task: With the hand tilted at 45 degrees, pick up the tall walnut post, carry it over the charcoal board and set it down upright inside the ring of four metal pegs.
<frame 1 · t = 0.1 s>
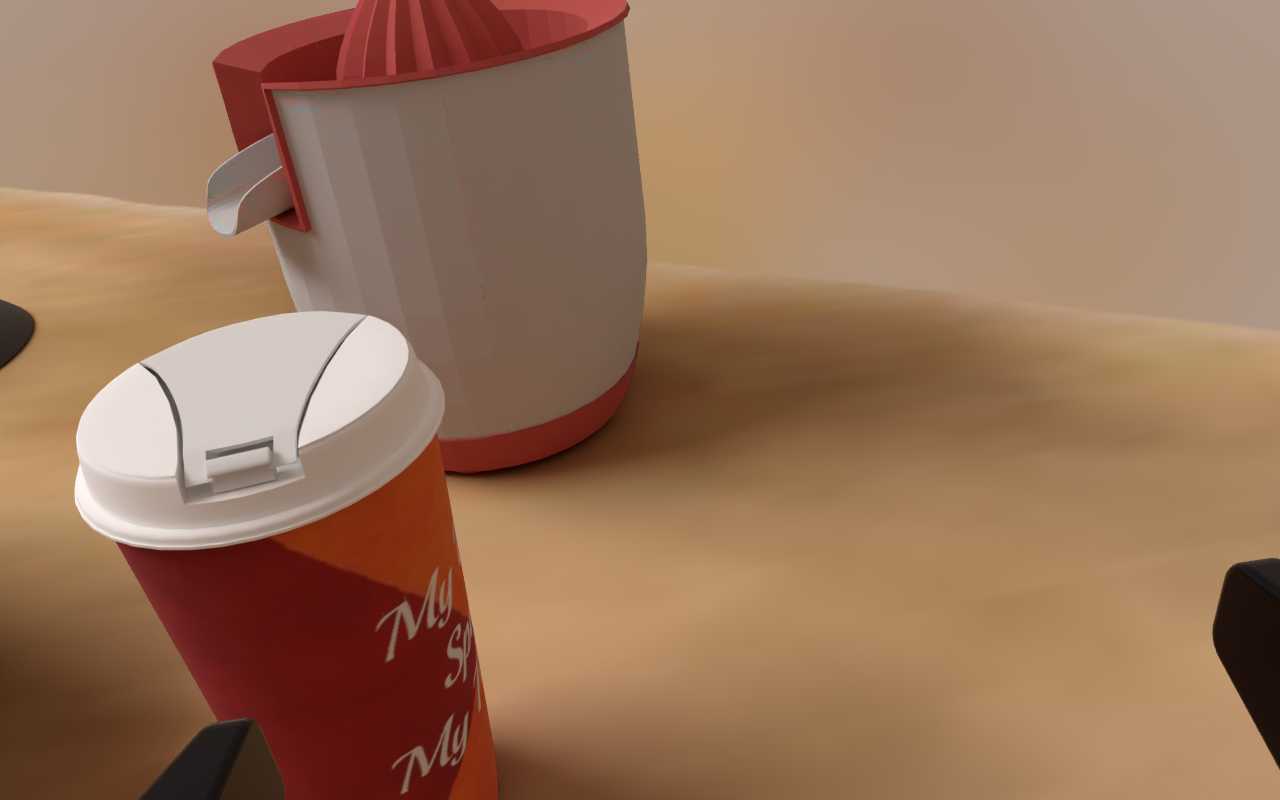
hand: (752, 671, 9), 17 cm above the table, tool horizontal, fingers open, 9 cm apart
citrus juicer: (486, 417, 46), on the table
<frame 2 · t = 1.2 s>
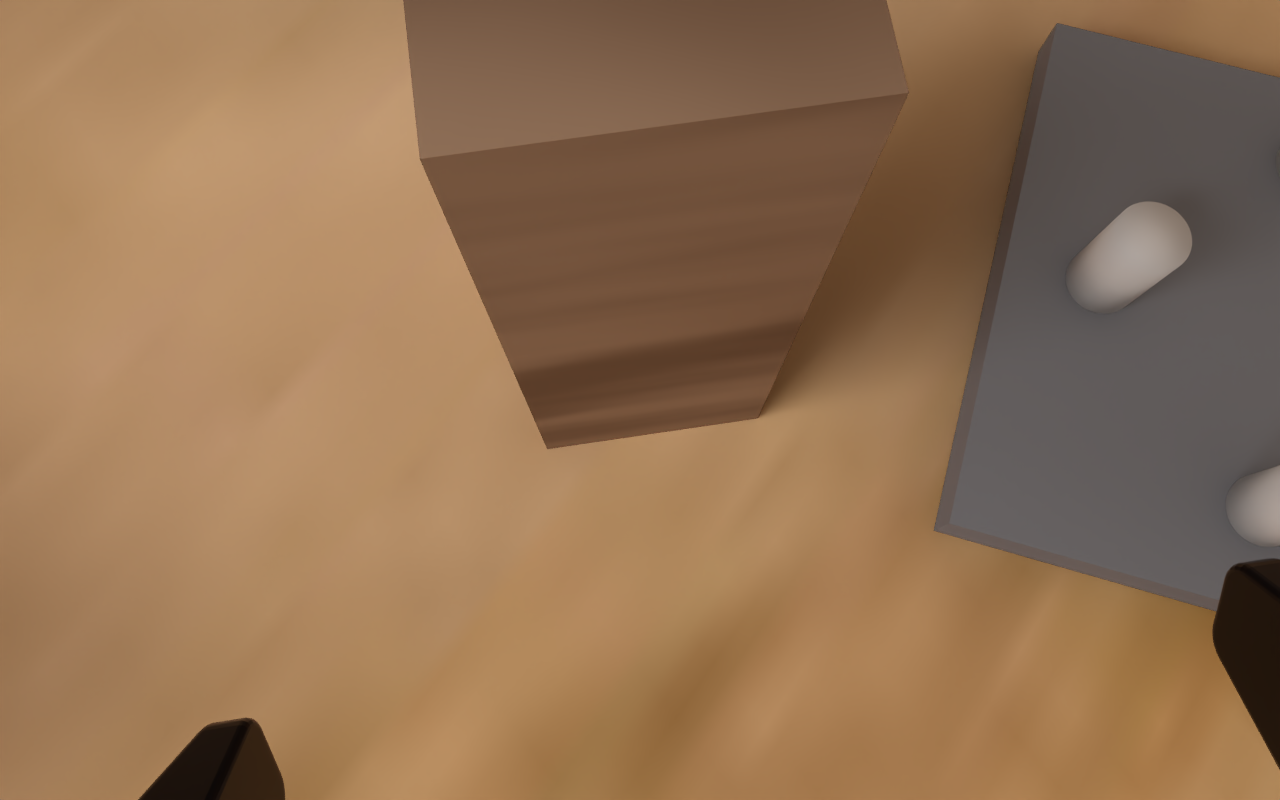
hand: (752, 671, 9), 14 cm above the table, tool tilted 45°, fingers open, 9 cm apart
walnut post: (637, 333, 24), on the table
peg nest: (1256, 346, 24), on the table
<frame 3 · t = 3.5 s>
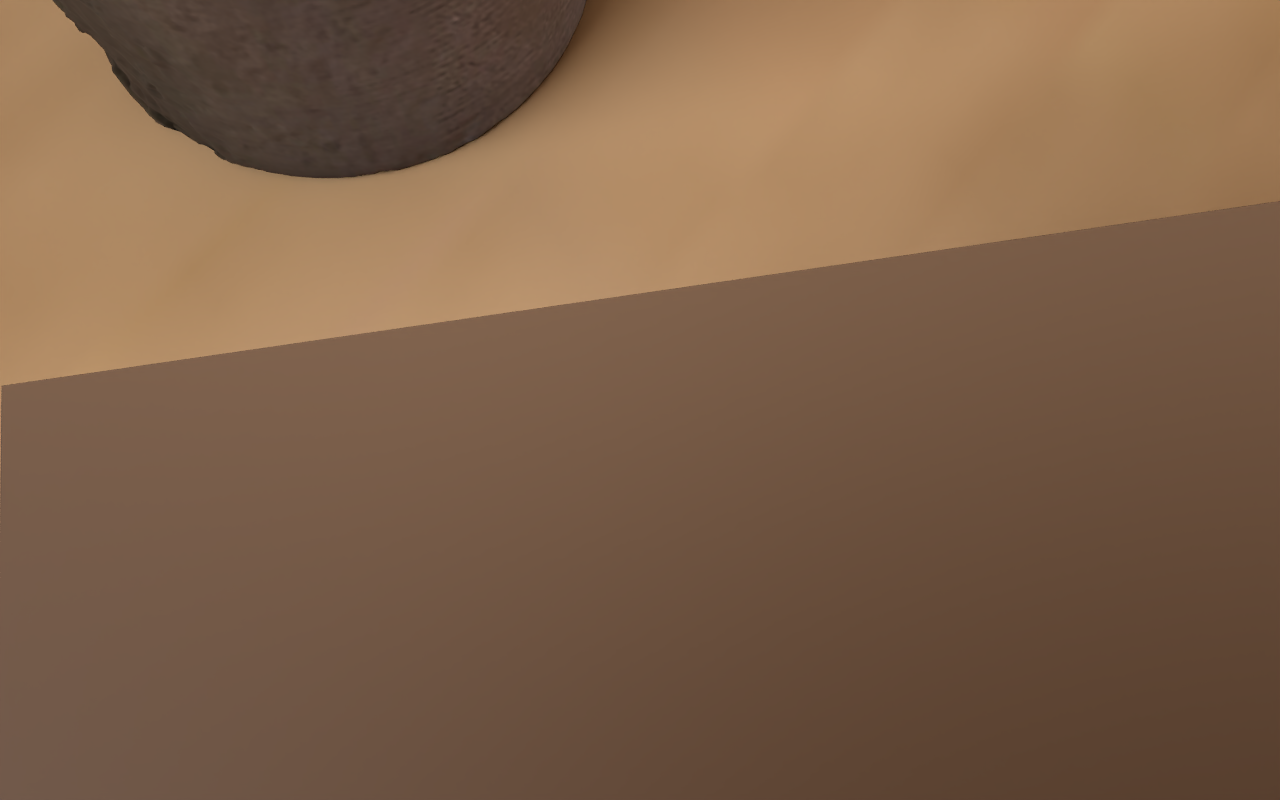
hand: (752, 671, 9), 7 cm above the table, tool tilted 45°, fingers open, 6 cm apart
walnut post: (720, 759, 16), on the table, touching gripper
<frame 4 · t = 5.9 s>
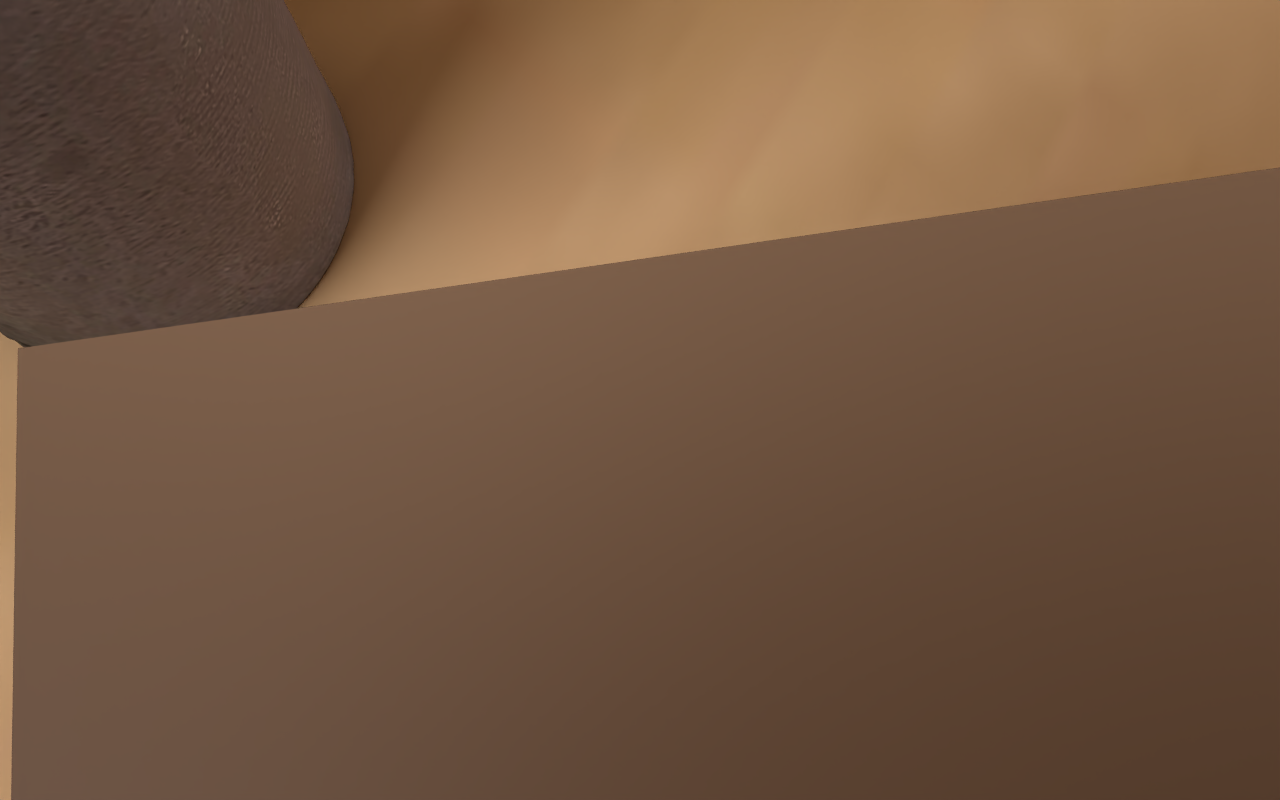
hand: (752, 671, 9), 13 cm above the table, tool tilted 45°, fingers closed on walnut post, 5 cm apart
pillar candle: (169, 190, 25), on the table
walnut post: (721, 759, 16), point 6 cm above the table, touching gripper
when the fingers open (9 cm above the table, at t = 8.0 s): walnut post drops 1 cm, resting on peg nest.
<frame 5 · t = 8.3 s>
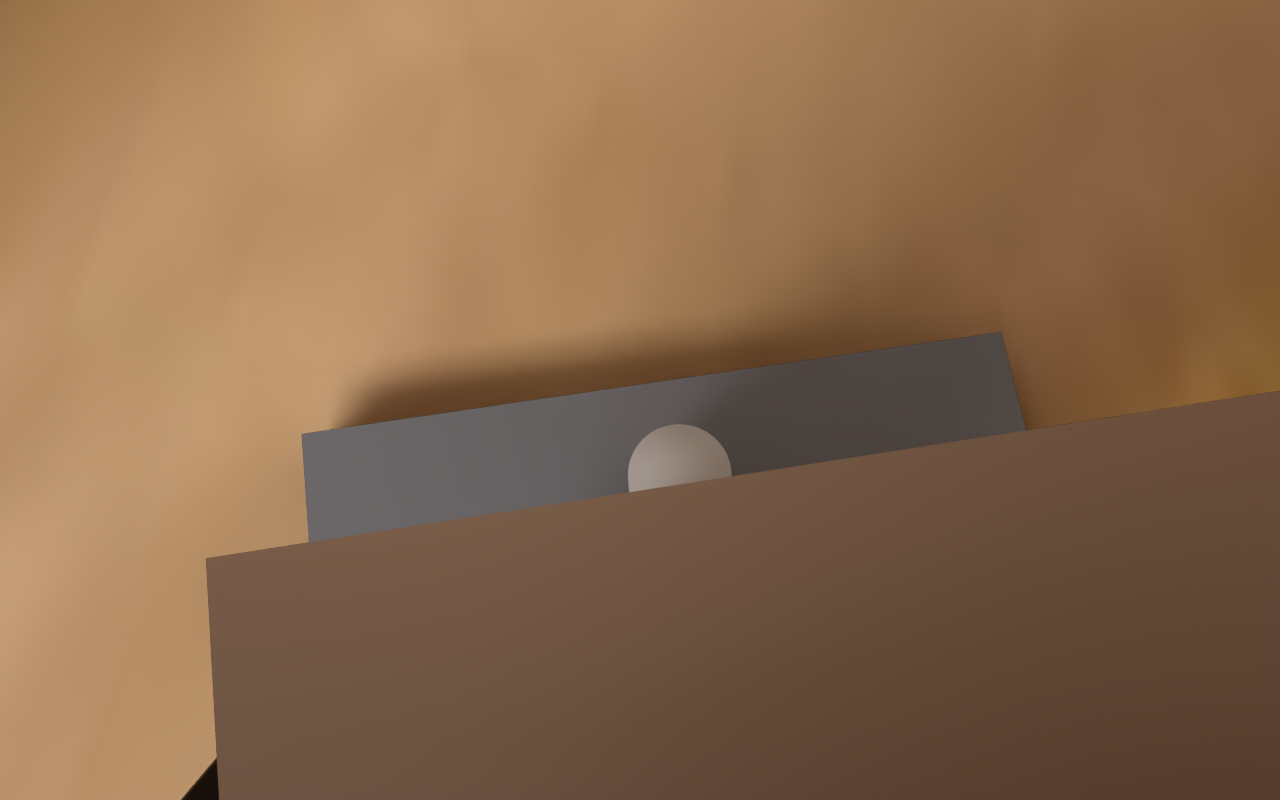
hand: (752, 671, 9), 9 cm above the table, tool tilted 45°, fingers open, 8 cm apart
walnut post: (713, 754, 17), point 1 cm above the table, touching peg nest
peg nest: (710, 745, 18), on the table
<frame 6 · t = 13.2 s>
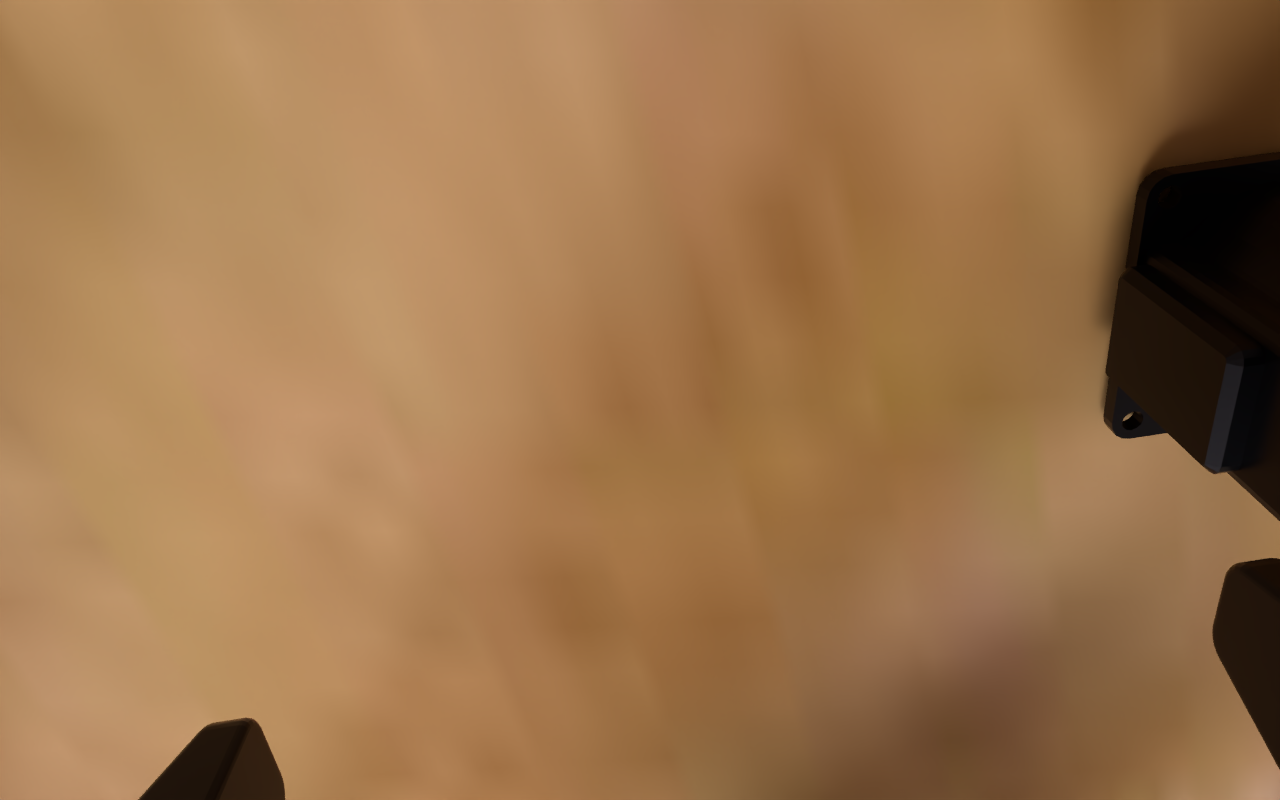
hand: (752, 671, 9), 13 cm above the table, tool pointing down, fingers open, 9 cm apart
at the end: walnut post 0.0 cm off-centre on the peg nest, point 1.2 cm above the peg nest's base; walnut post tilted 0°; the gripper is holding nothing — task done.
